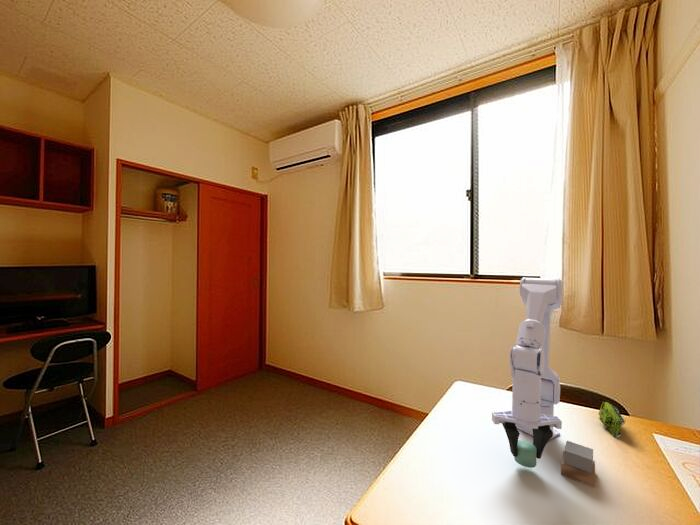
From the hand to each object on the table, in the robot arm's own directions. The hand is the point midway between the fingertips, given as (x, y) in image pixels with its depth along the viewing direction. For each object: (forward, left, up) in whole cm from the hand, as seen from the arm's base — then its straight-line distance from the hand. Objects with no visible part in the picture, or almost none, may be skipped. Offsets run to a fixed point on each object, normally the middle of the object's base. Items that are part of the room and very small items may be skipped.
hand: (525, 454), depth 71 cm
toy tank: (+3, +36, -4) cm, 37 cm away
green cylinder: (0, 0, -2) cm, 2 cm away
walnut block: (+7, +9, -4) cm, 12 cm away
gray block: (+7, +9, -1) cm, 12 cm away
